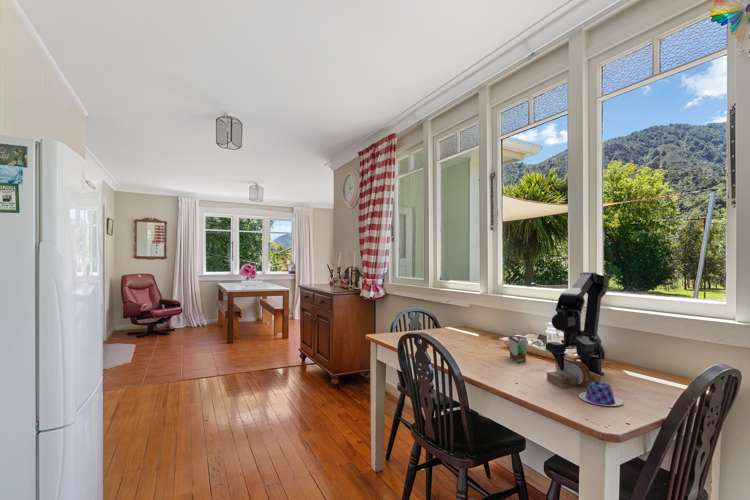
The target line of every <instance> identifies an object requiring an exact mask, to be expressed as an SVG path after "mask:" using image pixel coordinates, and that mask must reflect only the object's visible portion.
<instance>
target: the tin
mask: <svg viewBox="0 0 750 500" xmlns="http://www.w3.org/2000/svg"><path fill="white" fill-rule="evenodd" d="M555 370H556V371H561V370H560V368H559V366H558V364H557V361H556V360H555ZM556 371H555V372H556ZM561 372H564V373H566V374H569V375H571V376H574V377H576V382H577V386H578V387H583V386H589V385H588V384H589V383H590V380H591V375H590V372H589V369H588V368H587V366H586V365H585V364H584V363H582V362H581V360H578V359H575V358H572V357H569V356H568V355H567V356H566V355H565V356H564V371H561Z"/></svg>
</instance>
